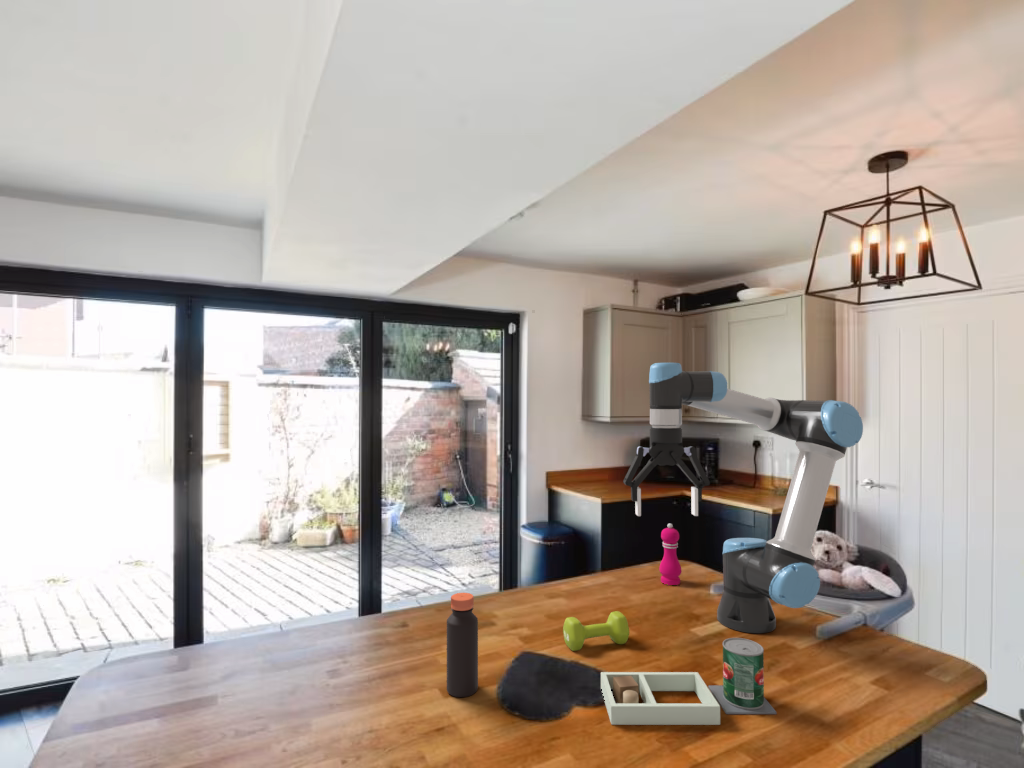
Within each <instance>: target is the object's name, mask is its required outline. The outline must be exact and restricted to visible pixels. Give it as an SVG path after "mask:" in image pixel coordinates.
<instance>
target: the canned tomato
mask: <svg viewBox="0 0 1024 768" xmlns="http://www.w3.org/2000/svg"><path fill="white" fill-rule="evenodd" d="M764 651H765V650H764V646H762V644H760V643H758V642H756V641H754V640H751V639H747V638H744V637H743V638H742V637H729V638H726V639H724V640H723V641H722V668H723V669H722V685H723V697H724V699H725V700H726V701H727V702H728V703H730V704H731V705H733V706H736V707H738V708H742V709H748V710H755V709H759V708H761V707H763V705H764V698H765V693H764V692H765V689H764V688H765V684H764V681H765V680H764V679H765V677H764V671H765V670H764V667H765V665H764V661H765V660H764V659H765V658H764Z"/></svg>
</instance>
